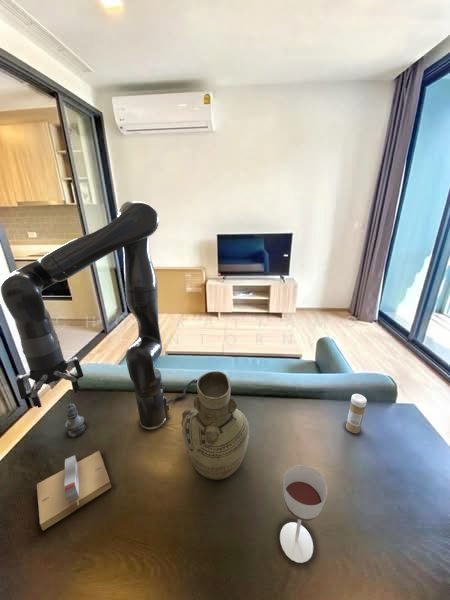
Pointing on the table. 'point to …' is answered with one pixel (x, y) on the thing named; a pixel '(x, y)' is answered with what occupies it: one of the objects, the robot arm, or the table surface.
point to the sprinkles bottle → (356, 413)
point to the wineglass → (301, 509)
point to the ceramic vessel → (215, 428)
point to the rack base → (53, 495)
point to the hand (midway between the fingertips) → (58, 398)
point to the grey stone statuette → (74, 421)
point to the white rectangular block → (71, 479)
